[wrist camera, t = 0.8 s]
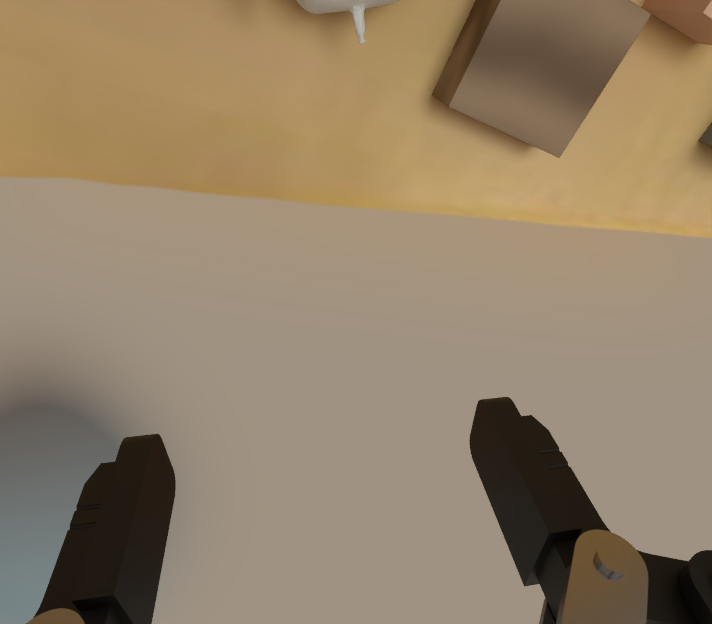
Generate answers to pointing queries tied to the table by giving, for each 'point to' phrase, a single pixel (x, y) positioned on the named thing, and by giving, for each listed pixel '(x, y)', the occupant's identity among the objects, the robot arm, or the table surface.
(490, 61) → the walnut base
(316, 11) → the elephant figurine
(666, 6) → the terracotta cube
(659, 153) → the table surface
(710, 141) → the charcoal cube
